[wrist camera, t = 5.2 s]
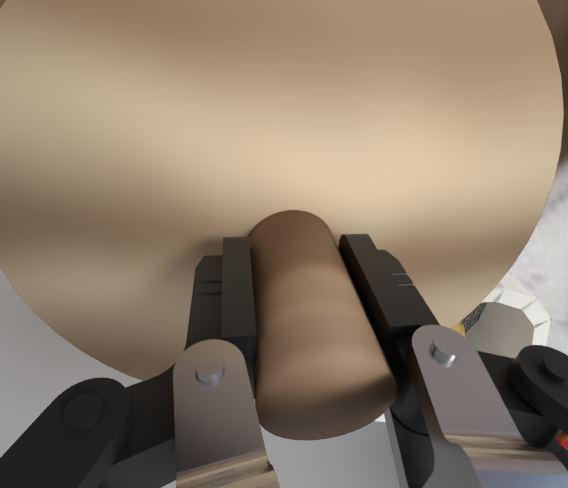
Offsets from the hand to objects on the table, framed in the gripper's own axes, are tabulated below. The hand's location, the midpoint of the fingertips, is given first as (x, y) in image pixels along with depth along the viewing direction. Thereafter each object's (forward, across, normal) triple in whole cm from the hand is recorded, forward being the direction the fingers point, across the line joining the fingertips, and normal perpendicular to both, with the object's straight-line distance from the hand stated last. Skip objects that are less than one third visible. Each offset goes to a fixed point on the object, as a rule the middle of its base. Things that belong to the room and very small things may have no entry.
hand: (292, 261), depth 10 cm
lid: (+2, 0, 0) cm, 2 cm away
